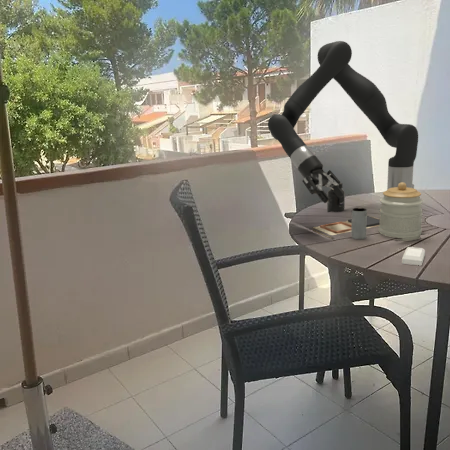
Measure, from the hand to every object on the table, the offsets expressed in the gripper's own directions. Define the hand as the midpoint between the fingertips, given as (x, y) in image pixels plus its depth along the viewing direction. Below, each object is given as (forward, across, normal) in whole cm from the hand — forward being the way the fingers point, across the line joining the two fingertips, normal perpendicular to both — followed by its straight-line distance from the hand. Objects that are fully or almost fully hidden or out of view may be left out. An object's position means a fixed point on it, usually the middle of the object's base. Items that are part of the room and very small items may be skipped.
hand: (334, 199), depth 142 cm
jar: (+21, +12, -3) cm, 24 cm away
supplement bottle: (-3, +26, +21) cm, 34 cm away
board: (+9, +10, +8) cm, 16 cm away
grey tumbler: (+15, 0, +3) cm, 16 cm away
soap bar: (+30, -6, -11) cm, 33 cm away
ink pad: (+10, +16, +6) cm, 20 cm away
